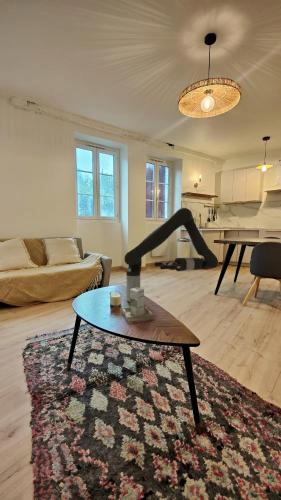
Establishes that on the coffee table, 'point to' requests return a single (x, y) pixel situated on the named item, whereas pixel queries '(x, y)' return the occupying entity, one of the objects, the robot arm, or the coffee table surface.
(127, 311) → the wooden tray
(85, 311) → the coffee table surface
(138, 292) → the syrup box
